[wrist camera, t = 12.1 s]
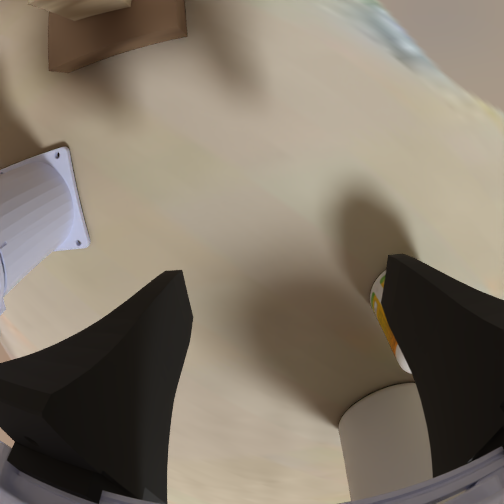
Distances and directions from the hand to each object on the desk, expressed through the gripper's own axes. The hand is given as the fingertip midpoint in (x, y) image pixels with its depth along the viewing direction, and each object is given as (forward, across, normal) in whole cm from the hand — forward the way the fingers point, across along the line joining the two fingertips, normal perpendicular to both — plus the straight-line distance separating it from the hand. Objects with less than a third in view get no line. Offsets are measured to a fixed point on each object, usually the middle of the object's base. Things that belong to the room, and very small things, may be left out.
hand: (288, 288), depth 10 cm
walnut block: (+11, +9, -16) cm, 21 cm away
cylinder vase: (+11, -13, +27) cm, 32 cm away
